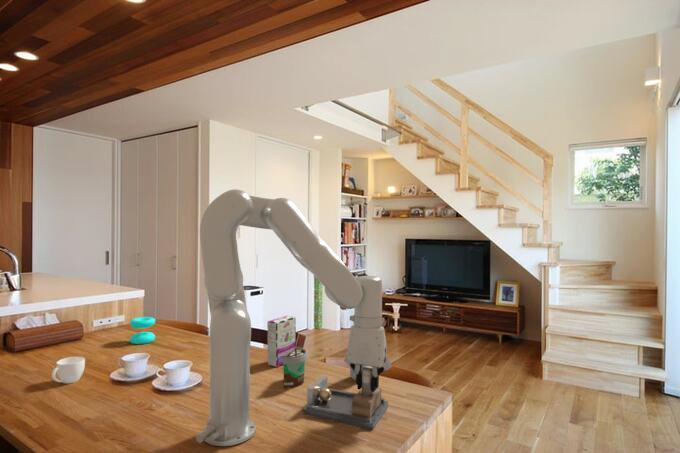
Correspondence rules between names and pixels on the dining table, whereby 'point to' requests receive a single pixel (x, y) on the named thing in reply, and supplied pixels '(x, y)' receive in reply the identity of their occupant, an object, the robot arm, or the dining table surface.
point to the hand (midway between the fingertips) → (367, 388)
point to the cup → (69, 369)
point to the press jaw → (366, 395)
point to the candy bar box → (281, 339)
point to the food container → (294, 367)
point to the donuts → (142, 336)
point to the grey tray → (338, 406)
